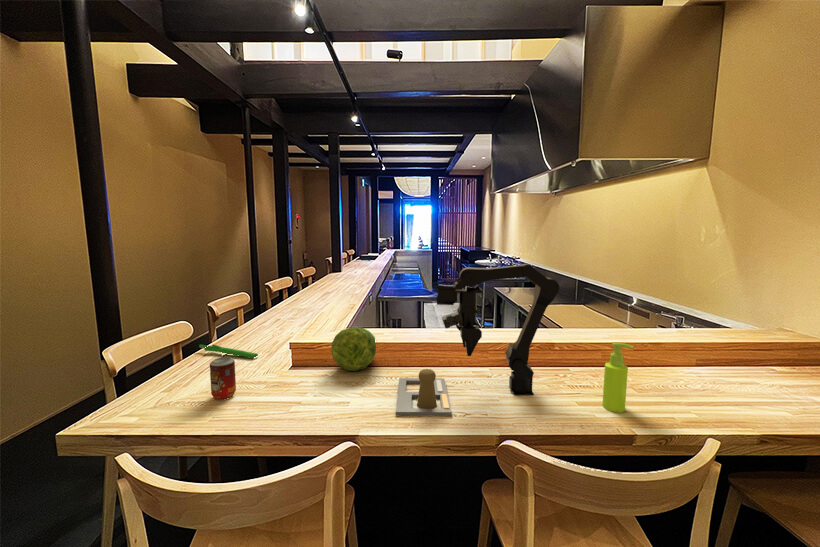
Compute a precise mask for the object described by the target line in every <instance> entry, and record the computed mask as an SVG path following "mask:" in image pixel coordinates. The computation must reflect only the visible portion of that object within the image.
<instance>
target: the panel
mask: <svg viewBox="0 0 820 547" xmlns="http://www.w3.org/2000/svg"><path fill="white" fill-rule="evenodd" d="M445 380H446V379H445V378H443V377H441V378H440V377H439V378H437V377H436V378H435V381H434V387H435V395H436V399H439V401H440V406H441V408H434V409H420V408H412V407H413V406H412V404H413V403H412V402H413V401H412V399H418V395H419V391H407V385H413V384H414V385H418V384H419V385H420V380H419V377H418V378H417V377H415V378H414V377H399V378H398V387H397V397H396V407H395V408H396V409H395V416H396V415H399V416H398V417H452V408H451V407H452V406H451V403H450V400H449V399H450V397H449V394H448V390H447V385H446V381H445Z"/></svg>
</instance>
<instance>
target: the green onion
mask: <svg viewBox="0 0 820 547" xmlns="http://www.w3.org/2000/svg"><path fill="white" fill-rule="evenodd" d="M207 346H208V347H207ZM198 347H199V348H201V349H204V351H206V352H214V353H215V352H216V353H221V352H222V353H227V354H233V355H232V356H235V355H239V356H238V357H240V356H245V357H244V358H246V357H250V358H249V359H251V358H254V357H256V356H259V354H258V353H256V352H250V351H245V350H240V349H235V348H230V347H222V346H220V345H216V344H212V345H205V344H199V345H198ZM205 347H206V348H205ZM222 353H221V354H222Z"/></svg>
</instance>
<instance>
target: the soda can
mask: <svg viewBox="0 0 820 547" xmlns="http://www.w3.org/2000/svg"><path fill="white" fill-rule="evenodd" d="M235 363H236V362H235V358H232V357H229V356H221V357H217V358H214V359H212V360H211V361H210V363H209V378H210V379H209V380H210V393H211V396H212V397H213V398H214V400H215V401H225V400H224V399H226V400H228V399H227V398H229V399H231V398H233V397H234V396H235V393H236V390H237V389H236V388H237V383H236V382H237V381H236V380H237V378H236V364H235ZM233 395H234V396H233ZM232 396H233V397H232ZM230 397H231V398H230Z"/></svg>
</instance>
